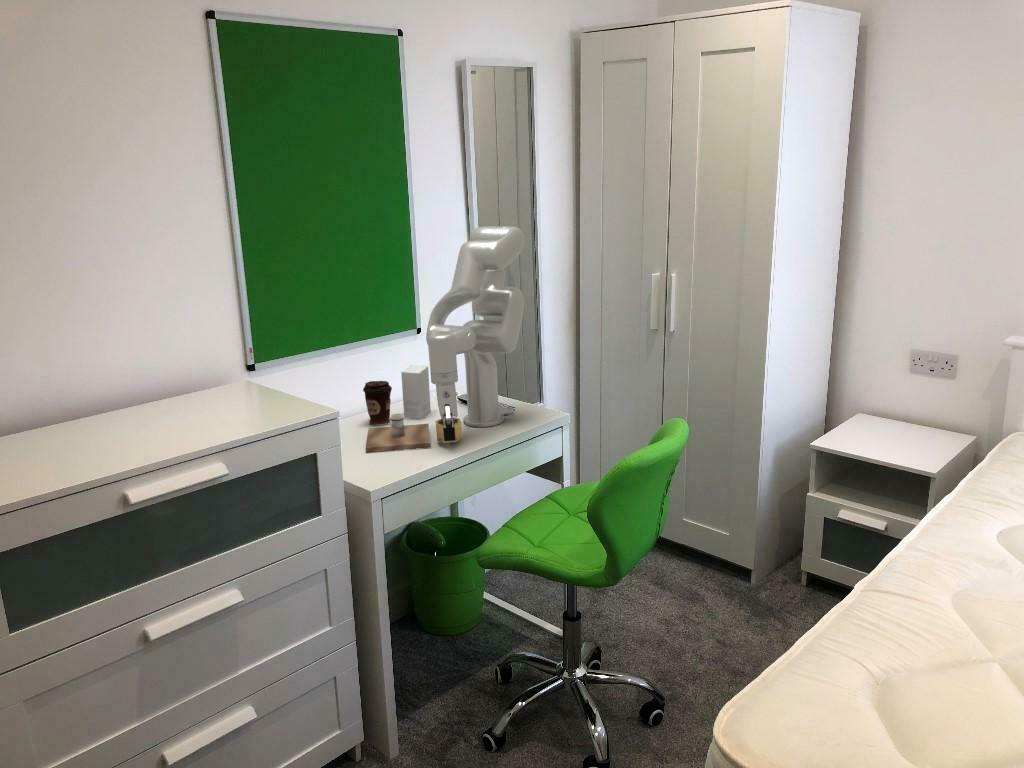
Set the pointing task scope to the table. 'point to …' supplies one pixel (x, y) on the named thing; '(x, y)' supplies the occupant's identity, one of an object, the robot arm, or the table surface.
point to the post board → (397, 443)
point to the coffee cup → (378, 401)
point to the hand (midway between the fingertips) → (449, 435)
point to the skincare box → (416, 392)
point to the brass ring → (441, 435)
